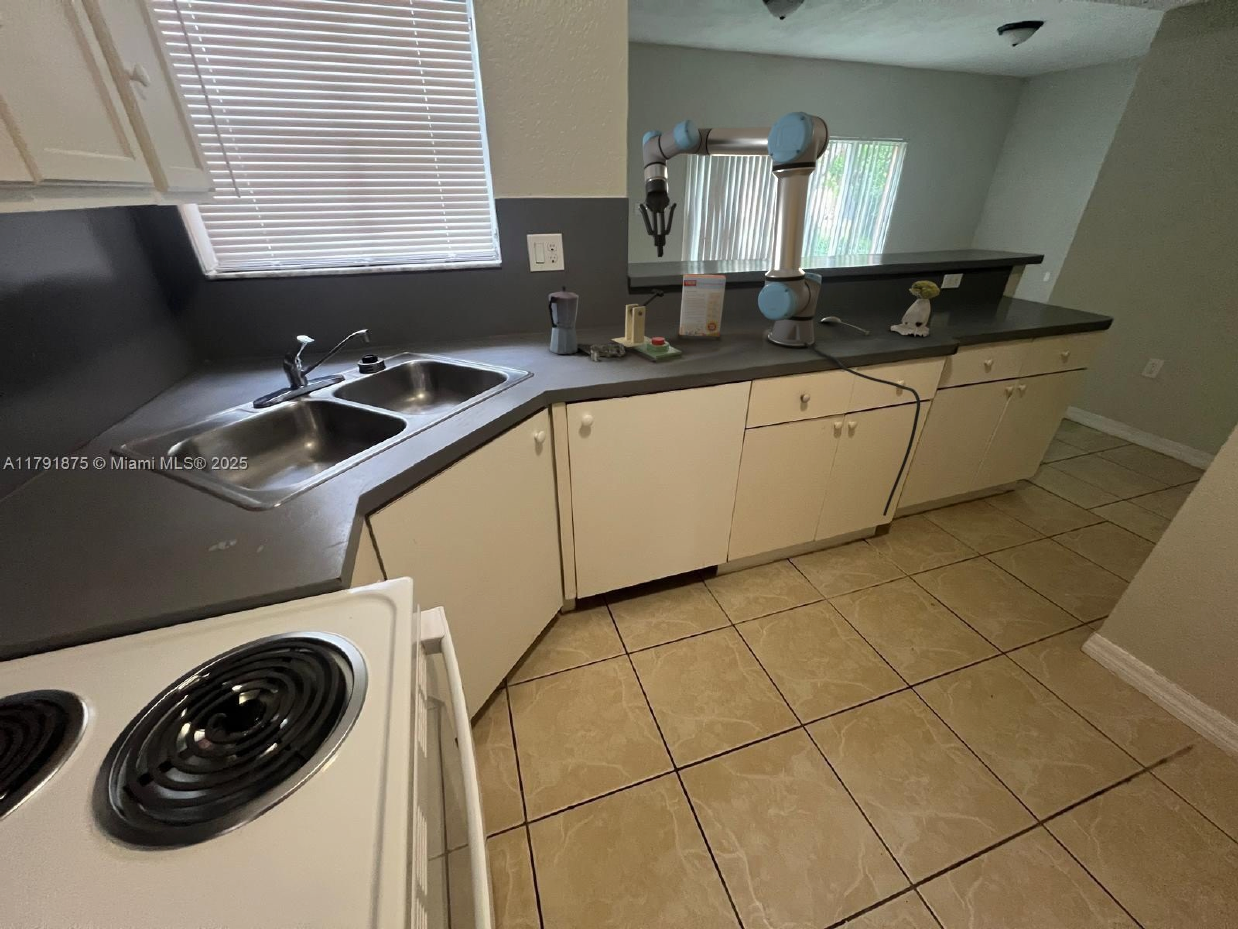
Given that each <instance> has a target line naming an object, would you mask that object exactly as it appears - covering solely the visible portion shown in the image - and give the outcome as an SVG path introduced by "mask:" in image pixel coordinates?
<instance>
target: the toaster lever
mask: <svg viewBox="0 0 1238 929" xmlns="http://www.w3.org/2000/svg"><path fill="white" fill-rule="evenodd" d="M664 296H665V293H664V291H662V290H659V289H655V288H653V289H652V290H651V295H650V296H649V297H648V298H647V299H645V300H644V301H643V302H642V303H640V304H639V305H638V306H636V305H635V306H634V307H642V306H644V307H647V306H648V305H649V304H650V303H651V302H652V301H654V300H655V299H656V298H657V297H659V298H663V297H664ZM634 307H633V308H634ZM633 308H632V309H630V310H629V311H630V313H631V315H632V317H633Z"/></svg>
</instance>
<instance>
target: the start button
mask: <svg viewBox="0 0 1238 929" xmlns="http://www.w3.org/2000/svg"><path fill="white" fill-rule="evenodd" d="M651 339H652V344H653V345H664V341H666V339H665V337H661V336H654V337H652V338H651Z"/></svg>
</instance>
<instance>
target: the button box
mask: <svg viewBox="0 0 1238 929" xmlns="http://www.w3.org/2000/svg"><path fill="white" fill-rule="evenodd" d="M633 349H635V350H636V351H638V352H641V353H642V354H645V355H647V356H649V357H651V358H653V359H655V360H651V362H652V363H654V364H658V363H665V362H668V361H669V362H670V361H674V360H678V359H682V354H683V351H682V350H680V349H678V348H675V347H672V346H671V345H670V342H668V341H666V340H664V345H653V344H652V340H651V341H648V342H647V344H643V345H637V346H633Z"/></svg>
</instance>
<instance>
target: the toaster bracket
mask: <svg viewBox="0 0 1238 929" xmlns="http://www.w3.org/2000/svg"><path fill="white" fill-rule="evenodd" d="M635 305H636V306H640V304H639V303H632V304H626V305H625V322H624V323H625V325H624V326H625V327H624V328H625V329H624V336H623V337H615V338H612V339H611V340H612V341H614V342H616V343H617V344H620V343H622V344H623V346H624V347H627V348H630V347H631V348H632V347H634V346H637V345H643V344H647V342H648V341H651V340H652V338H650V337H647V336H645V329H646V328H645V327H646V307H647V306H645V307H644V306H642V307H634V306H635ZM633 307H634V308H633ZM632 308H633V317H632V315H631V313H630V311H629V310H630V309H632Z"/></svg>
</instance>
